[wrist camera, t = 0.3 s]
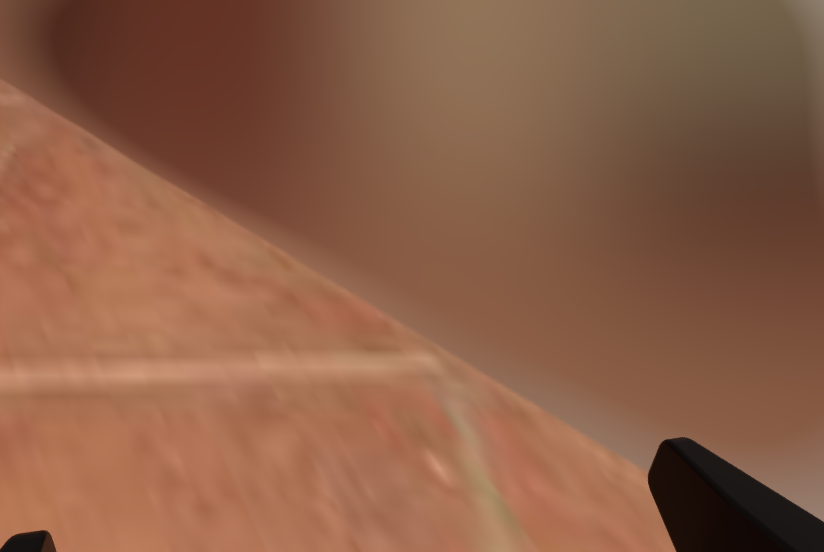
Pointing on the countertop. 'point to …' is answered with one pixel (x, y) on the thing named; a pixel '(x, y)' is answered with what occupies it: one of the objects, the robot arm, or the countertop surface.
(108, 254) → the countertop surface
